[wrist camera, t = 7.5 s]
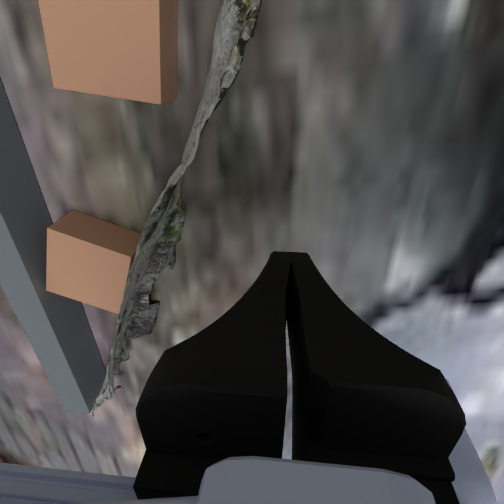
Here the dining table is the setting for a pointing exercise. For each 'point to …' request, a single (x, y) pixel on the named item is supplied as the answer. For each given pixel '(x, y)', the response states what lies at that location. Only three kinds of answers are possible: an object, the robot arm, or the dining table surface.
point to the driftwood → (177, 190)
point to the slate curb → (41, 279)
